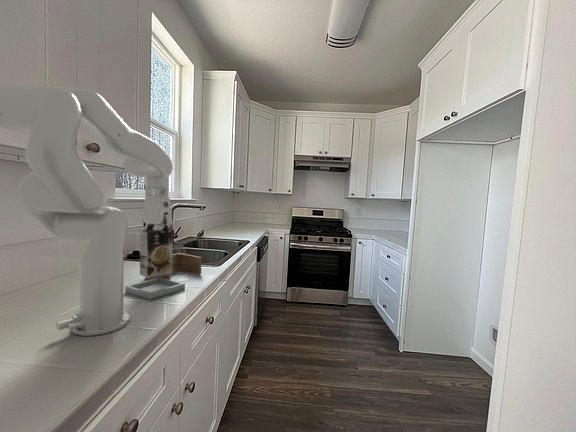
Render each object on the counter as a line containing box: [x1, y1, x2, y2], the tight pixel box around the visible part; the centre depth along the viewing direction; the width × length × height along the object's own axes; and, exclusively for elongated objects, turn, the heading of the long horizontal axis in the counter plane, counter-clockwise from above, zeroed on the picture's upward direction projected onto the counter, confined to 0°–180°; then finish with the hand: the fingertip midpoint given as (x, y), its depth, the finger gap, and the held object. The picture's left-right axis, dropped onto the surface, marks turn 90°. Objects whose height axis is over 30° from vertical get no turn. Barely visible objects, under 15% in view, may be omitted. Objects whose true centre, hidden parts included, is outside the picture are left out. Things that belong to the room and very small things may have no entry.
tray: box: [124, 277, 186, 302], centre depth 99 cm, size 14×14×2 cm
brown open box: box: [144, 252, 203, 280], centre depth 117 cm, size 17×14×8 cm
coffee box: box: [139, 228, 174, 279], centre depth 98 cm, size 9×6×16 cm
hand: (156, 242), depth 98 cm, fingers closed on coffee box, 6 cm apart
